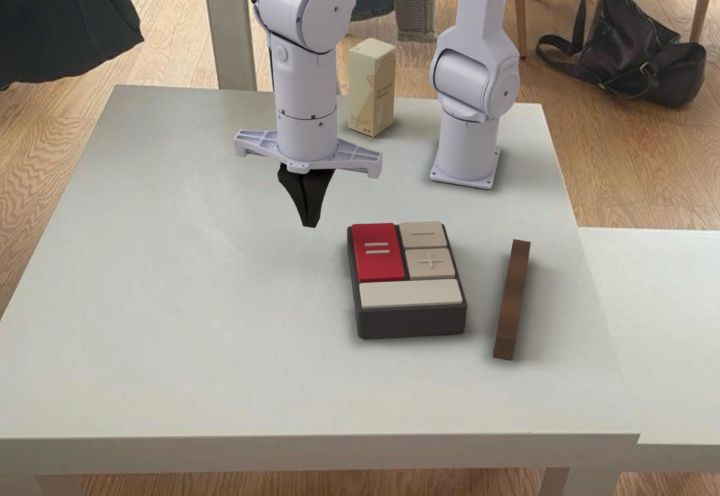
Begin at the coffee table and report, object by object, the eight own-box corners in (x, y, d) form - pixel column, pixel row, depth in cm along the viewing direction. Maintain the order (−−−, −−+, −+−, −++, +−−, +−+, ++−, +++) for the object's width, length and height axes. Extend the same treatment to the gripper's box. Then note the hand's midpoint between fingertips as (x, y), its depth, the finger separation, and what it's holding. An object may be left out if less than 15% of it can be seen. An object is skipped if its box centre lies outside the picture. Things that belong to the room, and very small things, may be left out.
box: (373, 138, 109) (375, 59, 101) (346, 128, 111) (346, 49, 103) (394, 122, 113) (397, 45, 105) (368, 112, 114) (369, 35, 106)
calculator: (444, 216, 92) (469, 300, 81) (442, 248, 95) (465, 333, 84) (346, 219, 90) (357, 306, 79) (346, 251, 93) (357, 339, 82)
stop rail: (509, 259, 93) (513, 238, 91) (527, 262, 93) (531, 241, 91) (492, 357, 82) (496, 335, 80) (512, 360, 82) (516, 339, 80)
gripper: (216, 113, 75) (231, 232, 84) (371, 138, 74) (369, 256, 83) (242, 78, 80) (254, 194, 89) (388, 101, 79) (384, 216, 88)
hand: (311, 221), depth 87 cm, fingers closed
